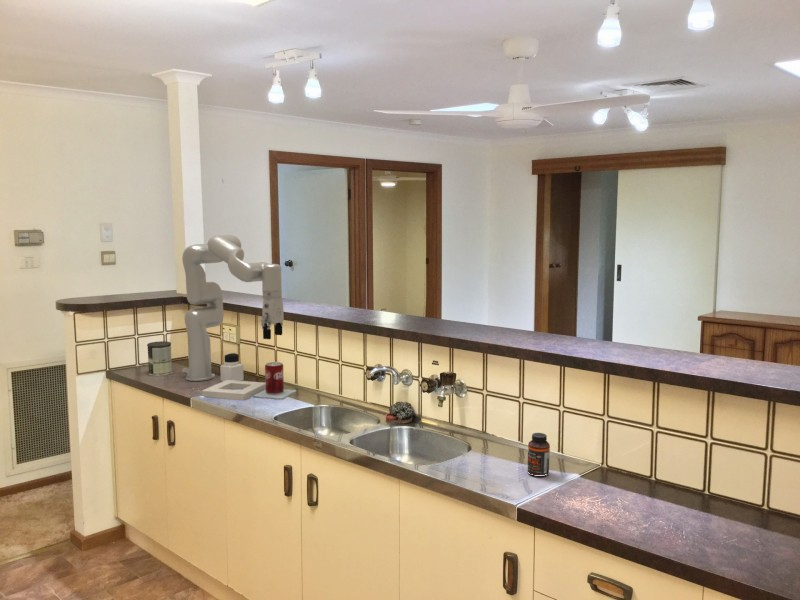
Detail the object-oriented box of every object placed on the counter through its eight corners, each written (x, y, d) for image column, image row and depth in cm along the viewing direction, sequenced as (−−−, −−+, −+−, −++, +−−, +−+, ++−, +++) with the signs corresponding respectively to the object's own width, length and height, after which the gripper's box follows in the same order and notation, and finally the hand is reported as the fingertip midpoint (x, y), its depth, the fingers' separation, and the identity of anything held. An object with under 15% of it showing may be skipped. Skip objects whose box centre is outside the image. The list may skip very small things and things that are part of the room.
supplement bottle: (523, 475, 188) (524, 435, 186) (532, 468, 193) (533, 430, 191) (544, 479, 185) (545, 439, 183) (552, 472, 189) (553, 433, 188)
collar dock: (201, 396, 271) (201, 390, 270) (227, 385, 289) (226, 379, 288) (244, 400, 265) (244, 394, 265) (267, 388, 283) (267, 382, 283)
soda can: (285, 390, 277) (285, 362, 276) (281, 395, 270) (280, 365, 269) (268, 390, 278) (267, 361, 277) (263, 394, 271) (262, 365, 269)
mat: (252, 397, 270) (252, 395, 270) (268, 389, 282) (268, 388, 282) (282, 399, 266) (282, 398, 266) (296, 391, 278) (296, 390, 278)
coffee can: (143, 375, 308) (142, 344, 307) (158, 370, 318) (157, 340, 316) (162, 376, 305) (161, 346, 303) (177, 371, 315) (175, 342, 313)
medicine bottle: (244, 380, 298) (243, 353, 297) (231, 383, 293) (230, 356, 291) (232, 378, 302) (232, 351, 301) (220, 381, 297) (219, 354, 295)
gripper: (270, 297, 262) (271, 341, 264) (290, 292, 278) (290, 333, 280) (252, 296, 264) (253, 340, 266) (273, 292, 280) (274, 332, 282)
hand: (272, 336), depth 273 cm, fingers open, 9 cm apart
